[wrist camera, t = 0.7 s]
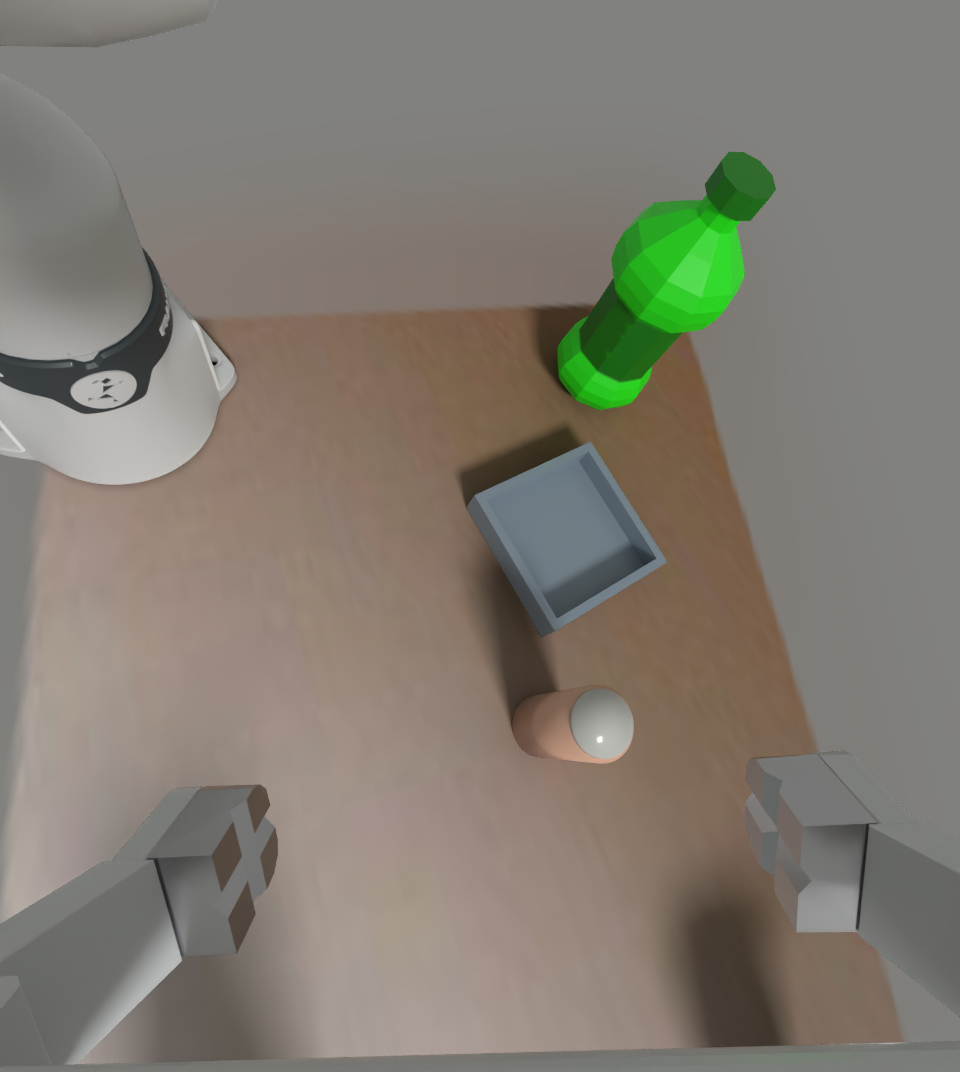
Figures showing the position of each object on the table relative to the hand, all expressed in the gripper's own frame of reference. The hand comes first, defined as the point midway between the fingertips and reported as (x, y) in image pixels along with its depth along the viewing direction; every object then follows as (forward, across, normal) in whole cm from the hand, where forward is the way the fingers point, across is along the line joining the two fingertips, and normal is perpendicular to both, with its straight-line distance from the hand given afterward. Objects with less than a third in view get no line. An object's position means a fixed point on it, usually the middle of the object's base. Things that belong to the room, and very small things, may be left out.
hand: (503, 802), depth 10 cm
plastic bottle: (+56, -10, -6) cm, 57 cm away
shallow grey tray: (+44, -5, +8) cm, 45 cm away
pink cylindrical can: (+34, -2, +21) cm, 40 cm away
